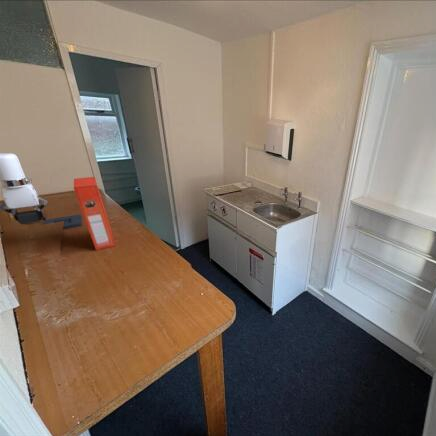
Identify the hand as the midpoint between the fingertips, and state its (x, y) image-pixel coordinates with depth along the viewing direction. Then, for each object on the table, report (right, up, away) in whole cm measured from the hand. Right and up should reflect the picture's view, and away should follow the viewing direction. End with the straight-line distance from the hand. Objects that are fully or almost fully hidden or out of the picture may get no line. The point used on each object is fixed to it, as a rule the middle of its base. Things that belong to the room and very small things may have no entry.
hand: (30, 219), depth 109 cm
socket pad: (-11, -3, +27) cm, 29 cm away
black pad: (0, -1, 0) cm, 1 cm away
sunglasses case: (-33, +1, +32) cm, 47 cm away
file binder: (+25, -12, +12) cm, 30 cm away
